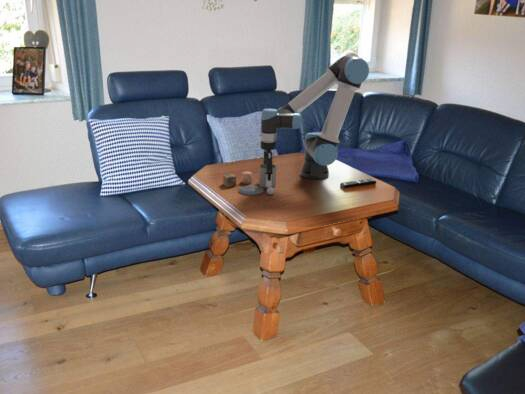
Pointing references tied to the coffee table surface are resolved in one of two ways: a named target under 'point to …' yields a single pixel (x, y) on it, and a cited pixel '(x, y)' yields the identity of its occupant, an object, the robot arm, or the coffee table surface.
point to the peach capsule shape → (246, 177)
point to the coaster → (251, 190)
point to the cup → (263, 176)
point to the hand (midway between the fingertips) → (267, 182)
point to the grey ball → (270, 190)
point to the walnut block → (229, 180)
